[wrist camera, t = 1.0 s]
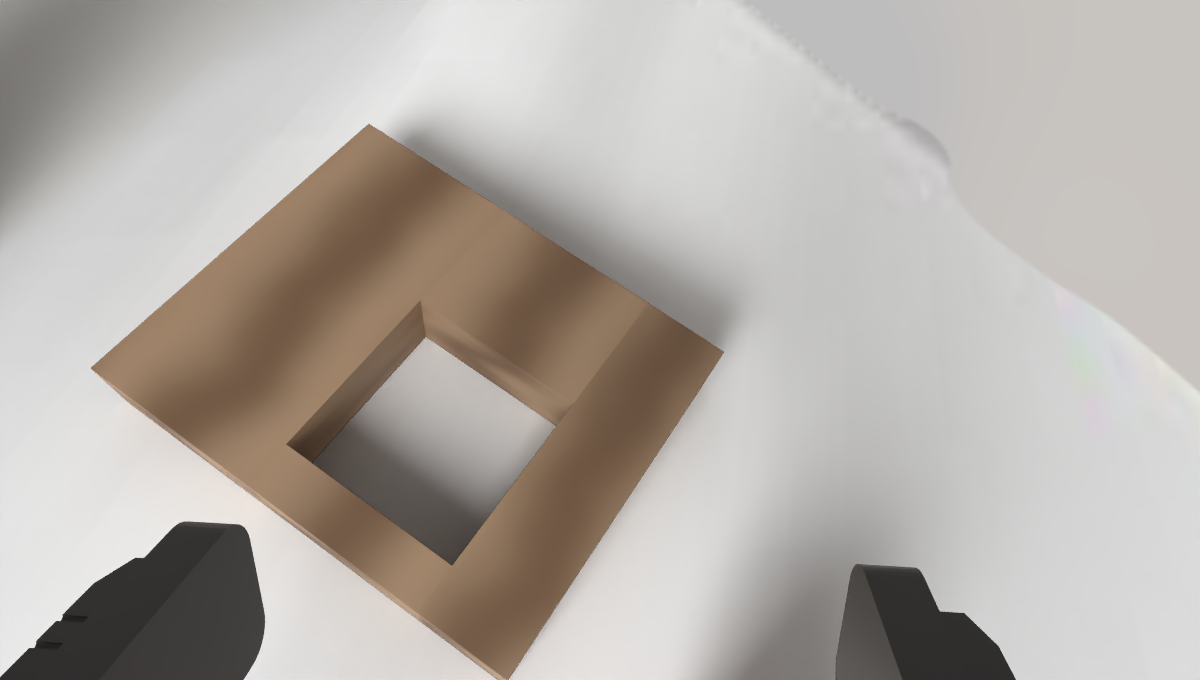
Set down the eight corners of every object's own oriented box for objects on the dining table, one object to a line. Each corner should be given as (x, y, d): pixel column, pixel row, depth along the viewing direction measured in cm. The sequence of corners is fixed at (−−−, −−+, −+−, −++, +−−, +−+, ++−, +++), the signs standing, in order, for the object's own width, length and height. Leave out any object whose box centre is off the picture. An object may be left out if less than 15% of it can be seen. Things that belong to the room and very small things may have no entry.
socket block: (127, 401, 33) (90, 368, 30) (377, 170, 40) (368, 123, 37) (504, 685, 30) (507, 680, 27) (704, 382, 37) (724, 352, 34)
